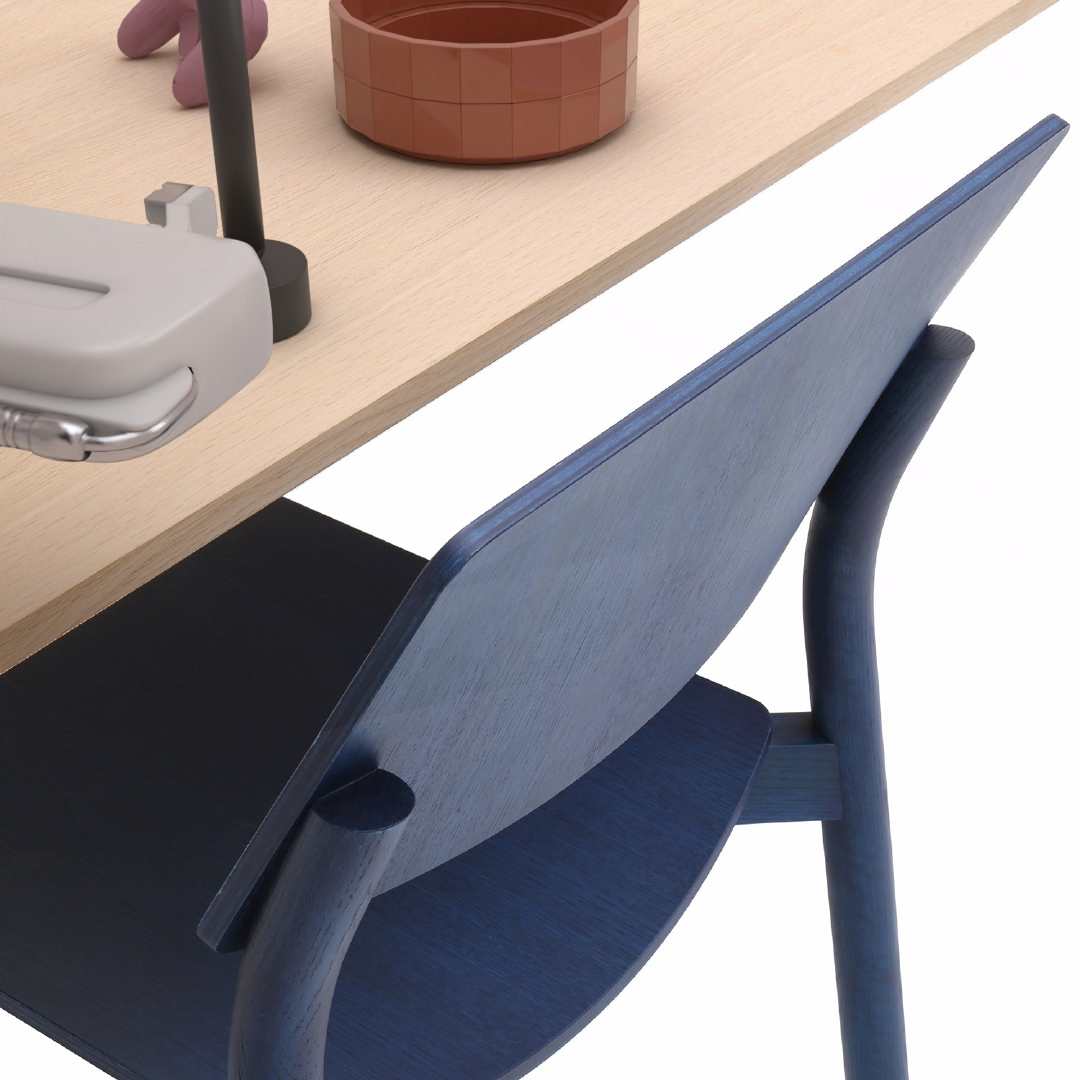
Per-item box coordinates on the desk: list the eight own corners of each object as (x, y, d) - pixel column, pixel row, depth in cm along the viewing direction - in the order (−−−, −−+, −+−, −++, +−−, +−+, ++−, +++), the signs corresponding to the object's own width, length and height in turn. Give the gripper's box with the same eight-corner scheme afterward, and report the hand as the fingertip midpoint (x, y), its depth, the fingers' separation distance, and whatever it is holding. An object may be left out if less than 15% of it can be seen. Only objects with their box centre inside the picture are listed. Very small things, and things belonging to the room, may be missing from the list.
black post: (205, 354, 66) (152, -61, 57) (183, 300, 70) (129, -99, 60) (324, 335, 67) (291, -75, 58) (297, 282, 71) (262, -111, 62)
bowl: (383, 188, 79) (376, 63, 75) (307, 77, 90) (298, -36, 87) (681, 146, 83) (687, 26, 80) (571, 45, 95) (573, -64, 91)
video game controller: (250, 128, 89) (296, 0, 86) (172, 105, 86) (216, -28, 83) (181, 70, 95) (222, -51, 93) (107, 47, 92) (146, -78, 90)
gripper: (108, 352, 39) (355, 133, 50) (-572, 224, 44) (-218, 52, 55) (145, 571, 43) (367, 324, 53) (-488, 428, 48) (-171, 229, 59)
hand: (65, 185), depth 54 cm, fingers open, 8 cm apart
